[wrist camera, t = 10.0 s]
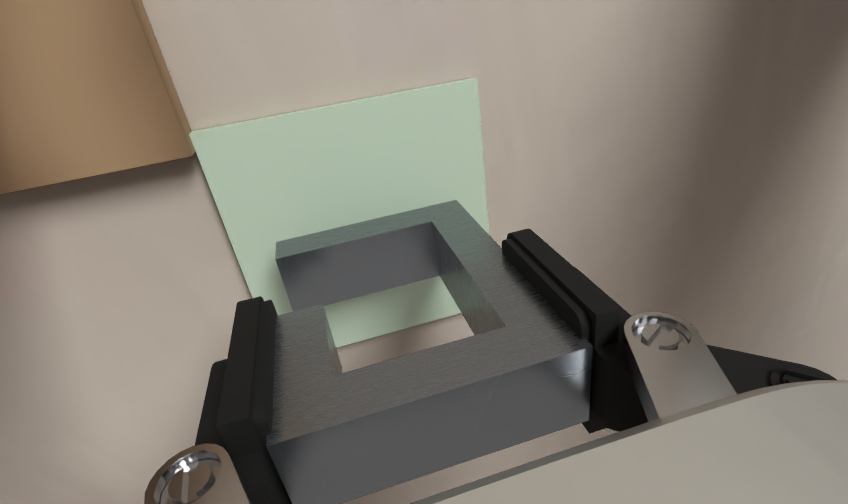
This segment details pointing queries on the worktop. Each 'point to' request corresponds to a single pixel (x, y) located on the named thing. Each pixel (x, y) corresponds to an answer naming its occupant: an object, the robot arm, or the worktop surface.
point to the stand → (83, 92)
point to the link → (414, 359)
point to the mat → (347, 188)
